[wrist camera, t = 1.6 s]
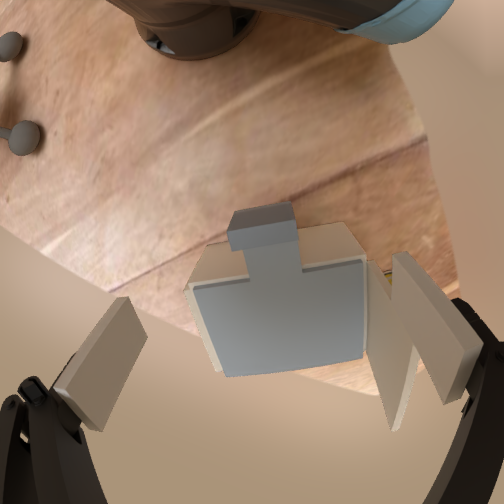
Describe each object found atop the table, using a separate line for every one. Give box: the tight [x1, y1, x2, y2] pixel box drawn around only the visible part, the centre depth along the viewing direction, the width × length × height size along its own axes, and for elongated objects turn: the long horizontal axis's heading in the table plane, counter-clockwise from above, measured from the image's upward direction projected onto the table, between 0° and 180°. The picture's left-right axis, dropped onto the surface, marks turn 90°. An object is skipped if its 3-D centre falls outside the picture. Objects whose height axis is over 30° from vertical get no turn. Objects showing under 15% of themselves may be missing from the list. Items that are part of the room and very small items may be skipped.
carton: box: [183, 222, 420, 432], centre depth 30 cm, size 14×20×22 cm
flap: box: [193, 201, 364, 377], centre depth 27 cm, size 20×17×5 cm
